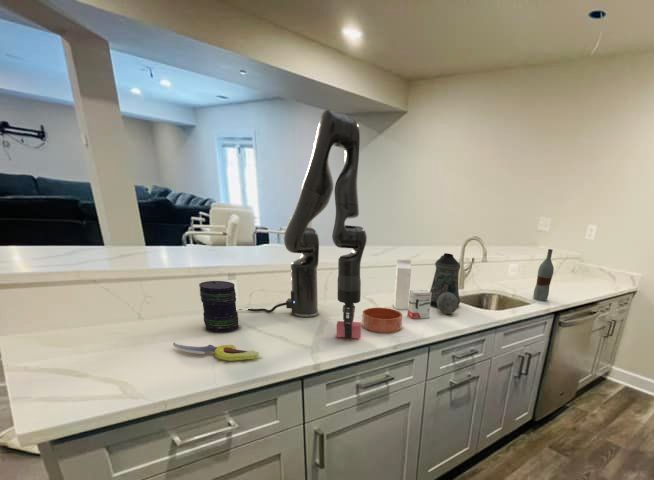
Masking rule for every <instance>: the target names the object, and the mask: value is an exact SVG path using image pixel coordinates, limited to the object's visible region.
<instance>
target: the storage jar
mask: <svg viewBox="0 0 654 480" xmlns="http://www.w3.org/2000/svg"><path fill="white" fill-rule="evenodd" d="M198 287H199V296H200V301H201V303H202V307H203V308H202V310H203V313H202V314H203V323H204V326H205V327H204V328H205V331H207V332H208V333H212V334H228V333H233V332H236V331H237V330H239V329H240V327H239V326H240V325H239V315H238V310H236V307H237V305H236V302H237V293H236V289H235V287H236V286H235V283H233V282H231V281H226V280H209V281H208V280H207V281H203V282H200V283H199V284H198Z"/></svg>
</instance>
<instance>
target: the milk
mask: <svg viewBox="0 0 654 480" xmlns="http://www.w3.org/2000/svg"><path fill="white" fill-rule="evenodd" d="M396 261H397V262H396V264H395V265H396V267H395V280H394V281H395V282H394V295H393V296H394V299H393V306H394V310H408V305H409V295H410V290H411V289H410V288H411V278H412V277H411V274H412V266H411V263H412V262H411V261H412V260H409V259H397V260H396Z"/></svg>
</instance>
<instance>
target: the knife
mask: <svg viewBox="0 0 654 480" xmlns="http://www.w3.org/2000/svg"><path fill="white" fill-rule="evenodd" d="M172 346H173V347H174V348H175V349H177V350H179V351H182V352H185V353H191V354H200V355H202V354H203V355H206V354H207V353H209V352H210V353H214V356H215V358H217V359H218V360H223V361H224V360H225V361H243V360H254V359H255V360H256V359H257V358H258V357H259V352H258V351H256V350H254V349H252V350H242V349H238V348H237V347H236V345H235V344H223V345H218V346H215V345H213V344H208V345H204V346H195V345H194V346H193V345H183V344H179V343H178V344H177V343H176V342H173V343H172ZM205 353H206V354H205Z"/></svg>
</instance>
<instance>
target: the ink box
mask: <svg viewBox="0 0 654 480" xmlns="http://www.w3.org/2000/svg"><path fill="white" fill-rule="evenodd" d="M431 294H432V293H431V292H430V291H429V290H428V289H425V288H423V289H421V288H420V289H419V288H418V289H417V288H416V289H410V290H409V303H408V309H407V316H408V317H409V318H410V319H413V320H414V319H429V318H430V311H431V306H430V303H431Z"/></svg>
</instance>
